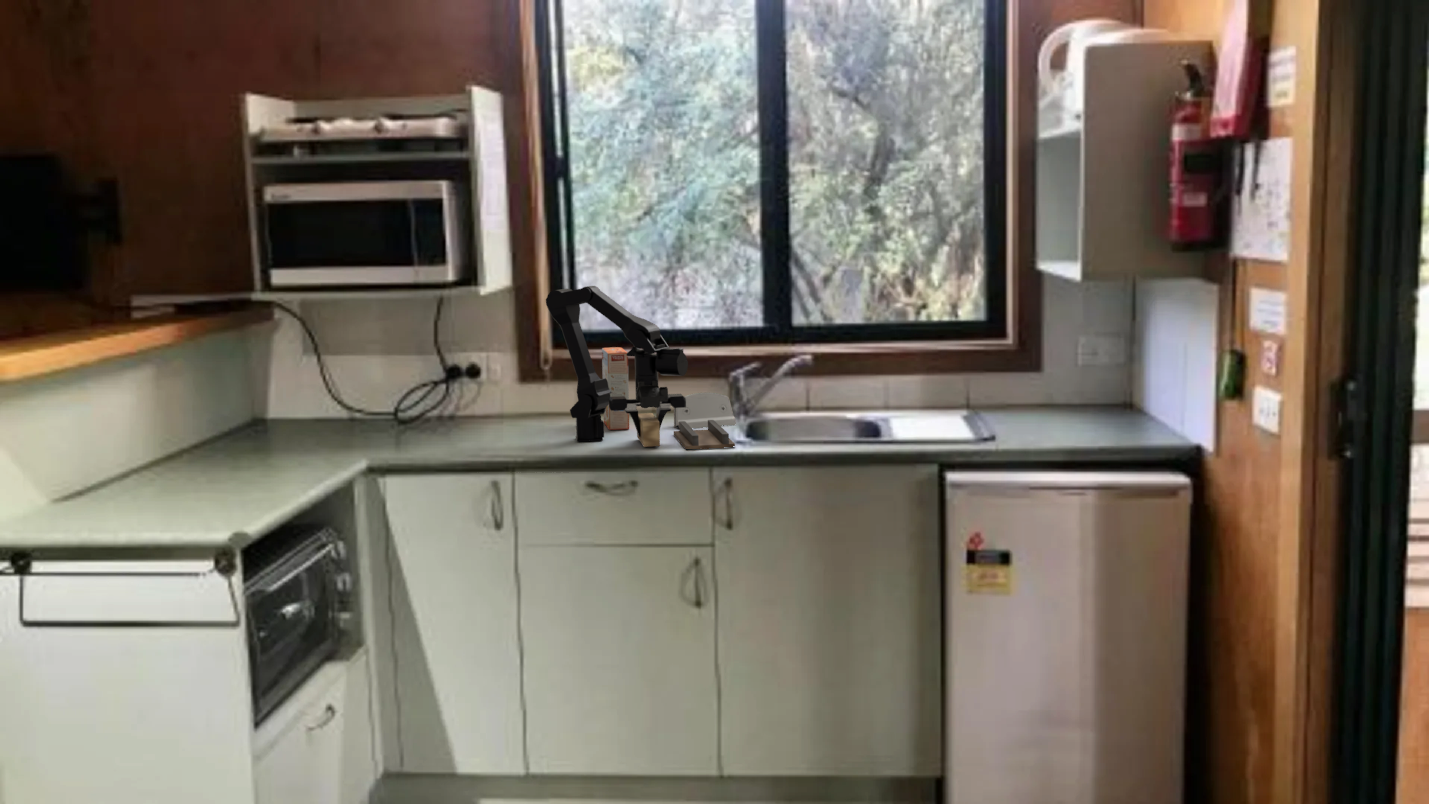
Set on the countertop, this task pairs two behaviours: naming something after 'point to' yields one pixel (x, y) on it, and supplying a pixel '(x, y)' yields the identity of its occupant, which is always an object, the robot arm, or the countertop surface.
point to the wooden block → (649, 430)
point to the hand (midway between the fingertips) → (648, 436)
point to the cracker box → (616, 385)
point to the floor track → (703, 436)
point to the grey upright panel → (705, 410)
